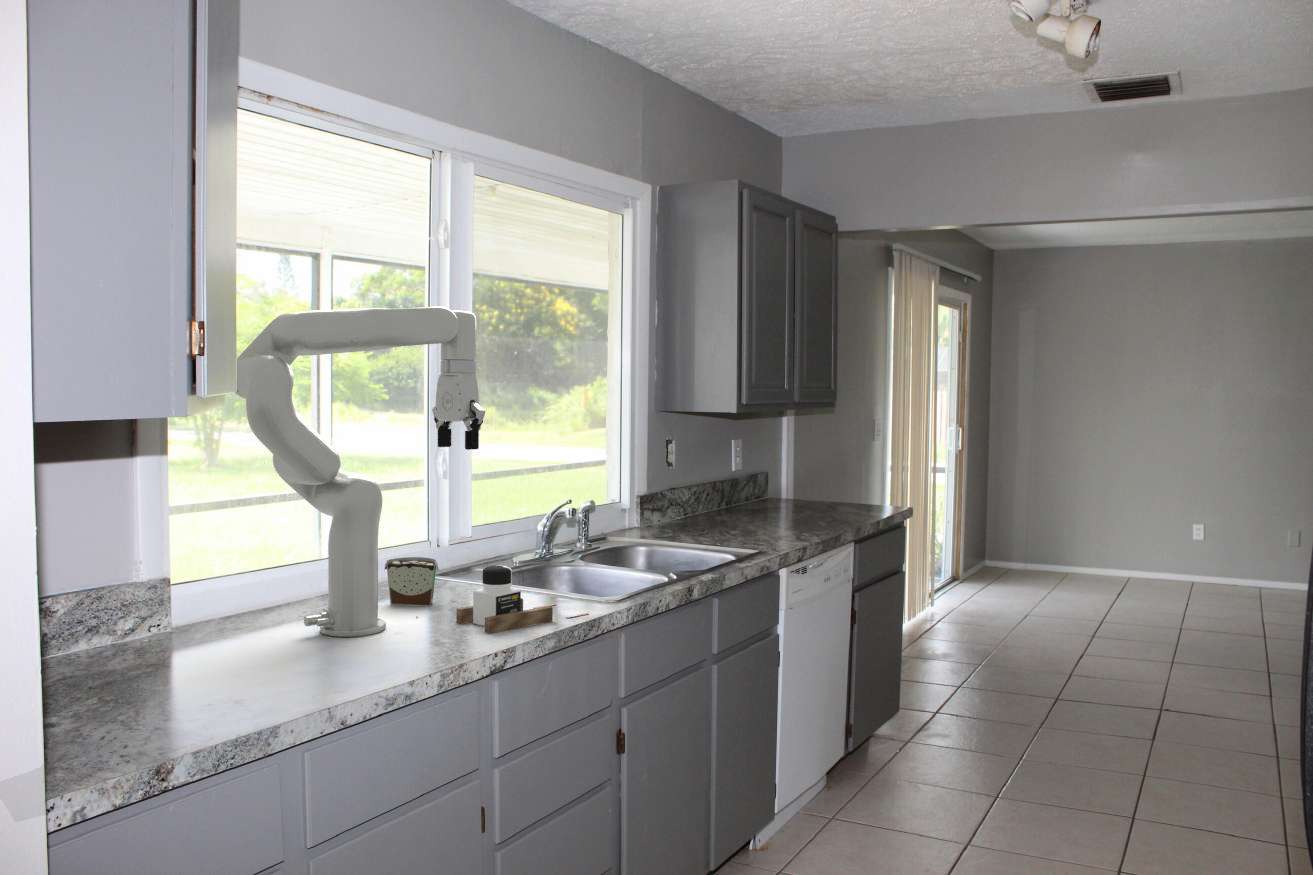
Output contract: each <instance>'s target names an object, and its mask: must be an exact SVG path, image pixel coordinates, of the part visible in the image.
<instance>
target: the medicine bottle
mask: <svg viewBox="0 0 1313 875" xmlns="http://www.w3.org/2000/svg"><path fill="white" fill-rule="evenodd" d="M512 581H513V570H512V568H511V567H509V566H506V565H501V564H500V565H499V564H498V565H495V564H494V565H488V566H487V567H484V568H483V569H482V587H483V588H478V589H475V590H473V592H472V593H473V594H472V598H473V599H472V604H473V605H472V606H473V624H474V625H477V626H481V627H485V617H491V616H496V615H502V614H507V613H513V612H518V611H521V598H522V597H521V596H522V594H521V593H522V590H521V589H518V588H513V587H512V586H513V582H512Z"/></svg>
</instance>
